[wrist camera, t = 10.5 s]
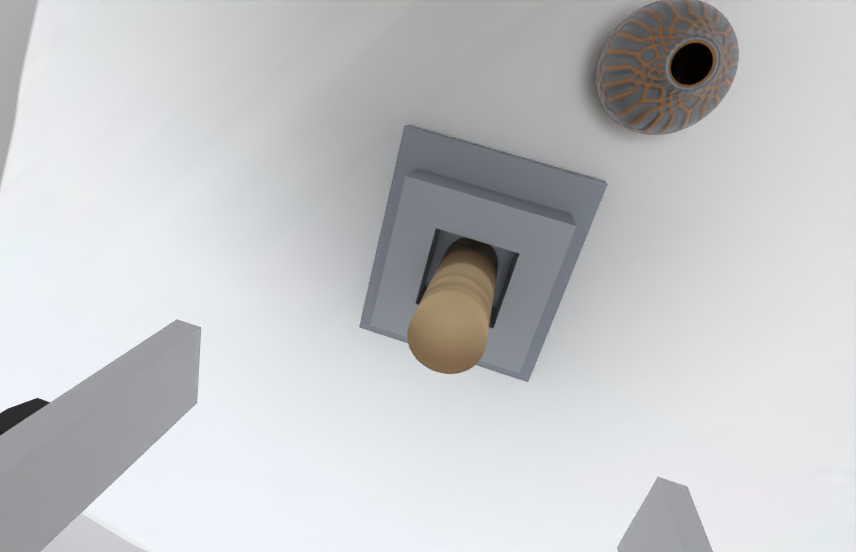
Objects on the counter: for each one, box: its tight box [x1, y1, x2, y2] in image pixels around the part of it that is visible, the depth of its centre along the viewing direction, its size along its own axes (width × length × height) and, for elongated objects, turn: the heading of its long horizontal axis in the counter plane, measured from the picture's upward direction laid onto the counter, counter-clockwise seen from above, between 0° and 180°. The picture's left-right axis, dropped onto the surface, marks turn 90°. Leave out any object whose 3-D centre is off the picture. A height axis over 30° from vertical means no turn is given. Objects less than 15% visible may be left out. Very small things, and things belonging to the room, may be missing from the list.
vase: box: [596, 0, 739, 135], centre depth 26 cm, size 7×7×9 cm
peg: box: [407, 237, 498, 374], centre depth 30 cm, size 4×4×12 cm
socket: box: [360, 125, 607, 382], centre depth 34 cm, size 16×14×5 cm
